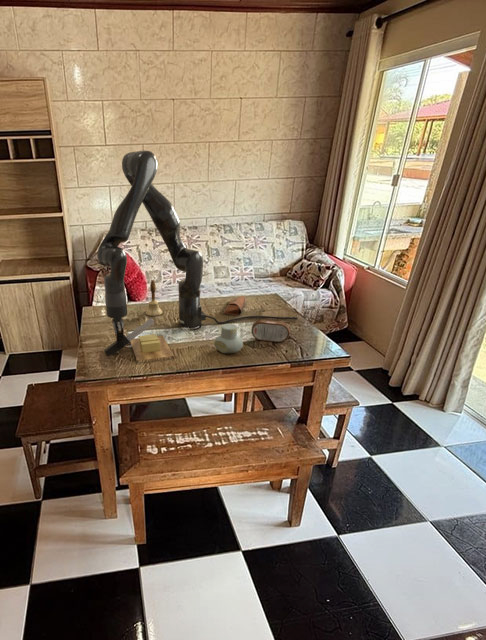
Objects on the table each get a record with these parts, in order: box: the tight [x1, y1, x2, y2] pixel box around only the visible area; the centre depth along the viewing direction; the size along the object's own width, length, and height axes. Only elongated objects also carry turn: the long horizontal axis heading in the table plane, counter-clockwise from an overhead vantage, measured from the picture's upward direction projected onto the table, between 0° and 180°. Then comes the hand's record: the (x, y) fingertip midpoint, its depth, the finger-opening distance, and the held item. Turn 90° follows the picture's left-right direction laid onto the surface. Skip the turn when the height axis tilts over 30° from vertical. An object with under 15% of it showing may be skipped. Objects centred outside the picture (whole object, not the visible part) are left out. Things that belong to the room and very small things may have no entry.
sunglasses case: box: [223, 295, 246, 316], centre depth 197 cm, size 18×7×7 cm
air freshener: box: [214, 323, 244, 354], centre depth 155 cm, size 11×8×10 cm
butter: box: [138, 333, 158, 348], centre depth 161 cm, size 7×5×4 cm
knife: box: [103, 317, 156, 356], centre depth 154 cm, size 22×2×3 cm
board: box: [130, 335, 174, 361], centre depth 160 cm, size 14×20×1 cm
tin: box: [251, 319, 291, 343], centre depth 162 cm, size 15×3×8 cm, turn 71°
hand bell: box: [145, 279, 164, 317], centre depth 193 cm, size 8×8×16 cm
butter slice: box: [141, 340, 160, 353], centre depth 156 cm, size 7×2×4 cm, turn 102°
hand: (120, 346), depth 155 cm, fingers closed on knife, 2 cm apart
